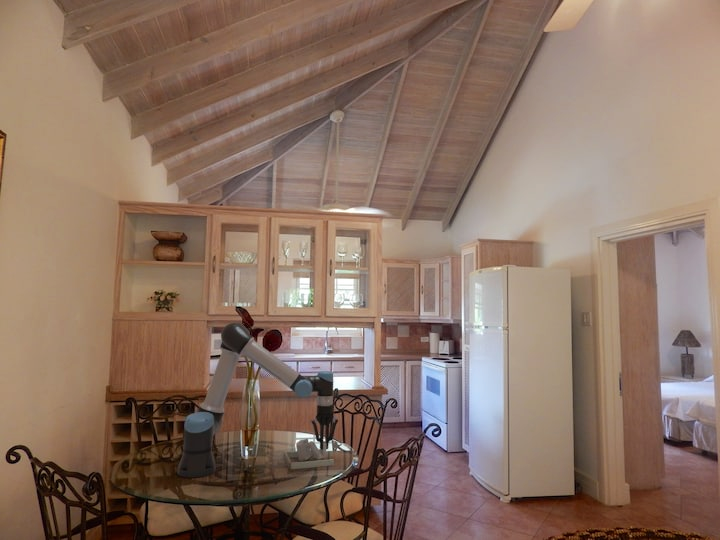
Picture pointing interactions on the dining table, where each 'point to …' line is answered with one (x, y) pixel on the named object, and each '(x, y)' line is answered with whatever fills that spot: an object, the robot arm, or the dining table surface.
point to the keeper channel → (308, 463)
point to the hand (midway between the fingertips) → (323, 456)
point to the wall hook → (307, 450)
